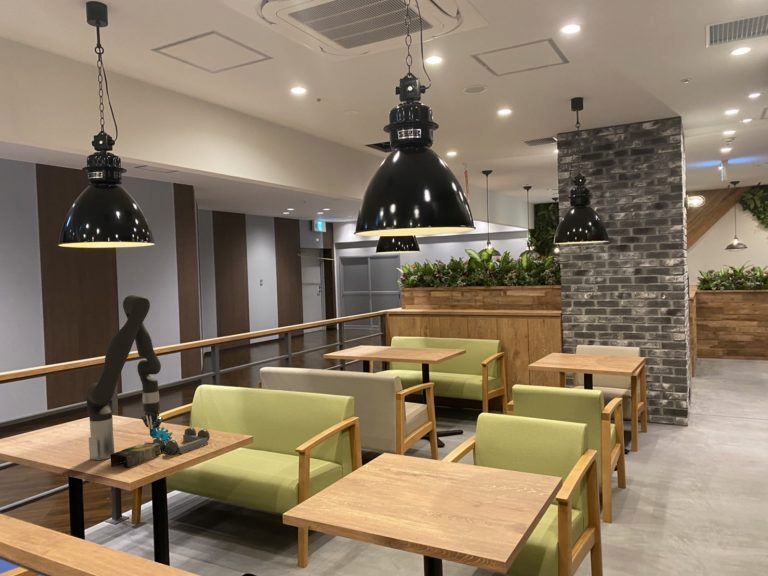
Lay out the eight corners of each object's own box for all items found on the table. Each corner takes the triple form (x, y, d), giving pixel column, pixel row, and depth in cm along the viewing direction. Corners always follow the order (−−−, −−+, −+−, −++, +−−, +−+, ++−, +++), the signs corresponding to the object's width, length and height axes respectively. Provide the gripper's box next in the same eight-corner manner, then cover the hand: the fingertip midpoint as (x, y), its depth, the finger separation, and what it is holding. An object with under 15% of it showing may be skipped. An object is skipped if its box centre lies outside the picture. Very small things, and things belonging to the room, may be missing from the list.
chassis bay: (176, 455, 258) (175, 442, 258) (152, 451, 266) (152, 438, 265) (211, 442, 275) (210, 430, 275) (188, 438, 283) (187, 426, 283)
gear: (157, 444, 270) (149, 426, 275) (151, 452, 272) (143, 434, 277) (177, 441, 279) (169, 424, 284) (171, 448, 281) (164, 432, 286)
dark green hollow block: (146, 452, 265) (146, 439, 264) (163, 454, 261) (162, 441, 260) (110, 467, 246) (109, 453, 246) (127, 470, 242) (126, 456, 242)
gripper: (135, 401, 280) (137, 436, 281) (154, 403, 274) (156, 440, 275) (148, 398, 287) (150, 432, 287) (166, 400, 280) (168, 435, 281)
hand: (153, 436), depth 281 cm, fingers closed
